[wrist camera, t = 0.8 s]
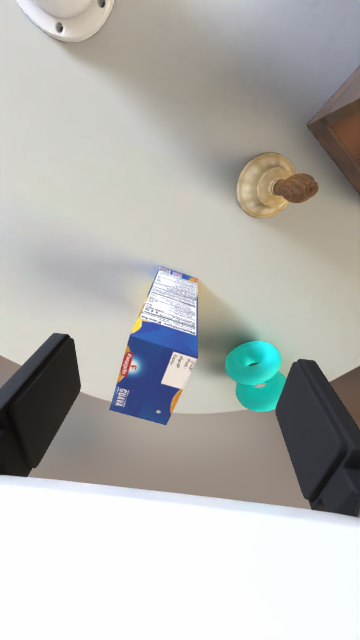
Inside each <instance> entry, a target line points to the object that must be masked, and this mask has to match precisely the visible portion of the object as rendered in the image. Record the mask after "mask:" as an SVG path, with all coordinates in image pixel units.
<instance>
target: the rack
mask: <svg viewBox="0 0 360 640" xmlns="http://www.w3.org/2000/svg"><path fill="white" fill-rule="evenodd" d="M307 127H308V128H309V129H310V130H311V132H312V133H313V134H314V136H315V137H316V138H317V140H318V141H319V142H320V144H321V145H322V146H323V147H324V149H325V150H326V151H327V153H328V154H329V155H330V157H331V158H332V159H333V161H334V162H335V163H336V165H337V166H338V167H339V168H340V170H341V171H342V172H343V174H344V175H345V176H346V178H347V179H348V180H349V182H350V183H351V184H352V185H353V187H354V188H355V189H356V191H357V192H358V193H359V195H360V66H359V67H358V68H357V69H356V70H355V72H354V73H353V74H352V75H351V76H350V77H349V78H348V79H347V81H346V82H345V83H344V84H343V85H342V86H341V87H340V88H339V90H338V91H337V92H336V93H335V94H334V95H333V96H332V97H331V99H330V100H329V101H328V102H327V103H326V104H325V105H324V106H323V108H322V109H321V110H320V111H319V112H318V113H317V114H316V115H315V116H314V118H313V119H312V120H311V121H310V122H309V123H308V124H307Z"/></svg>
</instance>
